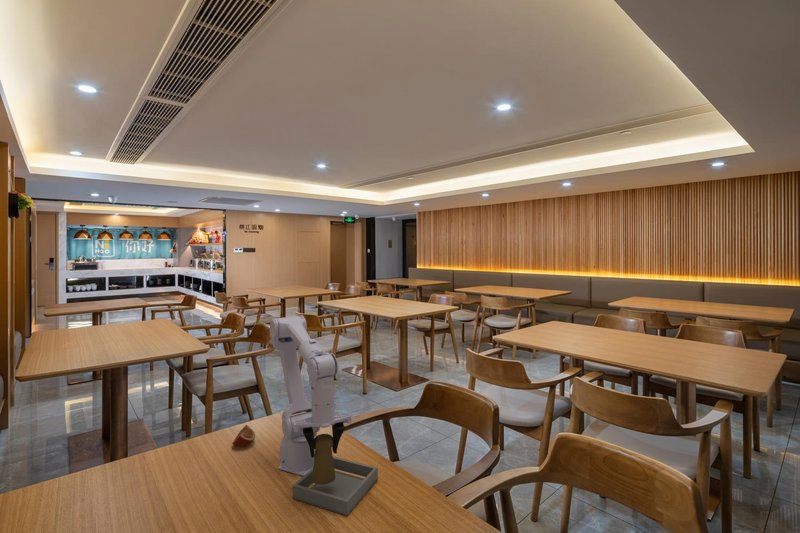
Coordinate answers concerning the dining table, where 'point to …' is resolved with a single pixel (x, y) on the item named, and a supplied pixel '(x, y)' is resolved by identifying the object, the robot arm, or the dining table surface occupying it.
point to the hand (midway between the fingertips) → (323, 453)
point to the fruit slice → (244, 437)
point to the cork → (323, 460)
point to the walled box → (338, 487)
